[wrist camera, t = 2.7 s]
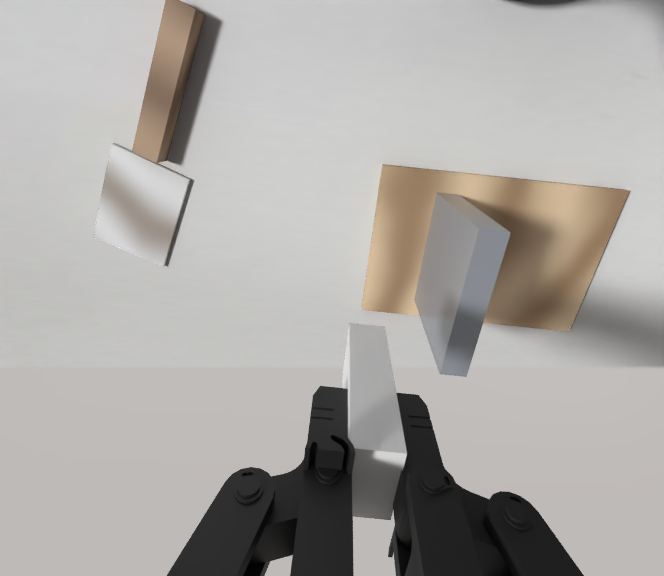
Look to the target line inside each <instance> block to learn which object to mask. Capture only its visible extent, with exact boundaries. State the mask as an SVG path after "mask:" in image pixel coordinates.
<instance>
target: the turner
mask: <svg viewBox="0 0 664 576" xmlns="http://www.w3.org/2000/svg"><path fill="white" fill-rule="evenodd" d="M203 19H204V15H203V14H202V13H200V12H199V11H197V10H196V9H194V8H192V7H191V6H189V5H187V4H185V3H183V2H181V1H179V0H166V1H165V6H164V10H163V15H162V19H161V24H160V28H159V33H158V37H157V42H156V46H155V51H154V55H153V60H152V64H151V69H150V73H149V78H148V82H147V87H146V91H145V96H144V100H143V105H142V109H141V114H140V118H139V123H138V127H137V132H136V136H135V141H134V145H133V150H132V151H130V150H127V149H125V148H123V147H121V146H119V145H117V144H115V143H113V144H111V148H110V153H109V158H108V164H107V169H106V174H105V179H104V184H103V189H102V194H101V199H100V204H99V209H98V214H97V219H96V224H95V229H94V234H93V237H94V238H96V239H99V240H101V241H103V242H106V243H108V244H110V245H113V246H115V247H117V248H120V249H122V250H124V251H127V252H129V253H131V254H134V255H136V256H138V257H141V258H143V259H146V260H148V261H150V262H153V263H155V264H157V265H160V266H162V267H164V266H165V264H166V261H167V257H168V254H169V251H170V247H171V244H172V241H173V237H174V234H175V231H176V227H177V224H178V220H179V217H180V214H181V210H182V207H183V204H184V200H185V197H186V194H187V190H188V187H189V184H190V180H191V179H189V178H187V177H185V176H183V175H181V174H179V173H177V172H174V171H172V170H170V169H168V168H166V167H164V166H162V165H159V164H157V163H159V162H163V161H166V159H167V156H168V152H169V148H170V144H171V140H172V137H173V133H174V129H175V125H176V121H177V118H178V114H179V110H180V106H181V103H182V99H183V95H184V91H185V87H186V84H187V80H188V76H189V72H190V68H191V65H192V61H193V57H194V53H195V49H196V46H197V42H198V38H199V34H200V30H201V27H202V23H203ZM142 156H143V157H142Z"/></svg>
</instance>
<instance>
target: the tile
mask: <svg viewBox="0 0 664 576" xmlns="http://www.w3.org/2000/svg"><path fill="white" fill-rule="evenodd" d="M510 234H511V232H509V231H508V230H506V229H505V228H504V227H502V226H501V225H500V224H498V223H497V222H495V221H494V220H493V219H491V218H490V217H489V216H487V215H486V214H484V213H483V212H482V211H480V210H479V209H478V208H476V207H475V206H473V205H472V204H471V203H469V202H468V201H466V200H465V199H464V198H462V197H461V196H460V195H458V194H449V193H440V192H437V193H436V198H435V203H434V208H433V212H432V217H431V222H430V227H429V231H428V236H427V241H426V245H425V250H424V255H423V260H422V264H421V269H420V274H419V279H418V283H417V288H416V293H415V298H414V301H415V304H416V307H417V309H418V312H419V315H420V318H421V321H422V324H423V327H424V330H425V332H426V335H427V338H428V341H429V344H430V347H431V350H432V353H433V356H434V358H435V361H436V364H437V367H438V370H439V372H440V374H445V375H455V376H465V377H466V376H467V373H468V370H469V366H470V363H471V360H472V357H473V353H474V350H475V347H476V344H477V341H478V337H479V334H480V331H481V328H482V324H483V321H484V318H485V315H486V311H487V308H488V305H489V302H490V298H491V295H492V292H493V289H494V286H495V282H496V279H497V276H498V273H499V269H500V266H501V263H502V260H503V256H504V253H505V250H506V247H507V243H508V240H509V237H510Z"/></svg>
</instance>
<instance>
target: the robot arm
mask: <svg viewBox="0 0 664 576" xmlns="http://www.w3.org/2000/svg"><path fill="white" fill-rule="evenodd" d="M393 510H394V519H395V527H394V531H393V535H392V539H391V543H390V547H389V555H388V557H392V556H393V552H394V560H395V569H396V576H584V575H583V574H582V573H581V571H580V570H579V568H578V567H577V566H576V564H575V563H574V561H573V560H572V559H571V558H570V556H569V554H568V553H567V552H566V550H565V549H564V547H563V546H562V545H561V543H560V542H559V540H558V539H557V538H556V537H555V535H554V533H553V532H552V531H551V529H550V528H549V526H548V525H547V524H546V522H545V521H544V519H543V518H542V517H541V515H540V514H539V512H538V511H537V510H536V509H535V508H534V507H533V506H532V505H531V504H530V503H529V502H528V501H526V500H525V499H524V498H522V497H521V496H519V495H516V494H513V493H510V492H501V491H500V492H498V493H495V494H493V495H492V497H491V498H490V500H489V499H487V498H484V497H482V496H479V495H477V494H474V493H472V492H469V491H467V490H465V489H463V488H462V487H460V486H459V485H457V484H456V483H455V481H454V479H453V477H452V476H451V475H450V474H449V473H448V472H447V471H446V470H445V468H444V466H443V463H442V459H441V456H440V452H439V448H438V445H437V442H436V438H435V434H434V430H433V427H432V423H431V420H430V416H429V412H428V409H427V406H426V404H425V403H424V402H423V400H422V399H421V398H420V397H419V395H413V394H403V393H396V388H395V382H394V377H393V371H392V365H391V360H390V354H389V349H388V343H387V337H386V332H385V327H384V326H374V325H364V324H354V323H350V324H349V331H348V339H347V346H346V354H345V361H344V369H343V388H334V387H325V386H320V387H319V388H318V390H317V391H316V392H315V394H314V395H313V402H312V410H311V417H310V425H309V433H308V441H307V445H306V448H305V457H304V460H303V461H302V463H301V464H300V465H299V466H298V467H297V468H296V469H294V470H292V471H291V472H288V473H285V474H282V475H277V476H272V477H271V476H270V475H269V473H267V472H266V471H264V470H262V469H260V468H252V467H250V468H245V469H241V470H239V471H237V472H235V473H233V474H232V475H231V476H230V477H229V478H228V480H227V481H226V482H225V483H224V485H223V487H222V488H221V490H220V491H219V493H218V494H217V496H216V498H215V499H214V501H213V502H212V504H211V506H210V507H209V509H208V510H207V512H206V514H205V515H204V517H203V519H202V520H201V522H200V523H199V525H198V526H197V528H196V530H195V531H194V533H193V534H192V536H191V538H190V539H189V541H188V542H187V544H186V546H185V547H184V549H183V550H182V552H181V554H180V555H179V557H178V559H177V560H176V562H175V563H174V565H173V567H172V568H171V570H170V571H169V573H168V575H167V576H264V575H265V573H266V570H267V568H268V565H269V563H270V561H272V560H275V559H279V558H283V557H287V556H290V555H293V559H292V567H291V575H290V576H353V520H352V516H355V517H365V518H375V519H385V520H391V516H392V512H393Z"/></svg>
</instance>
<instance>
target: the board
mask: <svg viewBox="0 0 664 576" xmlns="http://www.w3.org/2000/svg"><path fill="white" fill-rule="evenodd" d="M437 192H440V193H449V194H458V195H460V196H461V197H462V198H464V199H465V200H466V201H468V202H469V203H471V204H472V205H473V206H475V207H476V208H478V209H479V210H480V211H482V212H483V213H484V214H486V215H487V216H489V217H490V218H491V219H493V220H494V221H495V222H497V223H498V224H500V225H501V226H502V227H504V228H505V229H506V230H508V231H509V232H511V234H510V237H509V240H508V243H507V247H506V250H505V253H504V256H503V260H502V263H501V266H500V269H499V273H498V276H497V279H496V282H495V286H494V289H493V292H492V295H491V298H490V302H489V305H488V308H487V311H486V315H485V318H484V321H483V323H492V324H502V325H511V326H521V327H530V328H540V329H550V330H559V331H570V329H571V326H572V324H573V322H574V319H575V317H576V315H577V312H578V310H579V308H580V305H581V303H582V301H583V298H584V296H585V294H586V291H587V289H588V287H589V284H590V282H591V280H592V277H593V275H594V273H595V270H596V268H597V266H598V263H599V261H600V259H601V256H602V254H603V252H604V249H605V247H606V245H607V242H608V240H609V238H610V235H611V233H612V231H613V228H614V226H615V224H616V221H617V219H618V217H619V214H620V212H621V210H622V207H623V205H624V203H625V200H626V198H627V196H628V193H629V191H628V190H624V189H614V188H605V187H595V186H585V185H576V184H566V183H557V182H547V181H537V180H528V179H518V178H509V177H499V176H489V175H480V174H470V173H461V172H451V171H441V170H432V169H422V168H413V167H403V166H393V165H384V164H383V165H382V171H381V178H380V185H379V192H378V199H377V206H376V213H375V220H374V226H373V233H372V240H371V247H370V254H369V261H368V268H367V275H366V282H365V288H364V295H363V302H362V310H368V311H378V312H387V313H397V314H407V315H416V316H420V315H419V312H418V309H417V307H416V304H415V301H414V298H415V293H416V288H417V283H418V279H419V274H420V269H421V264H422V260H423V255H424V250H425V245H426V241H427V236H428V231H429V227H430V222H431V217H432V212H433V208H434V203H435V198H436V193H437Z"/></svg>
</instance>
